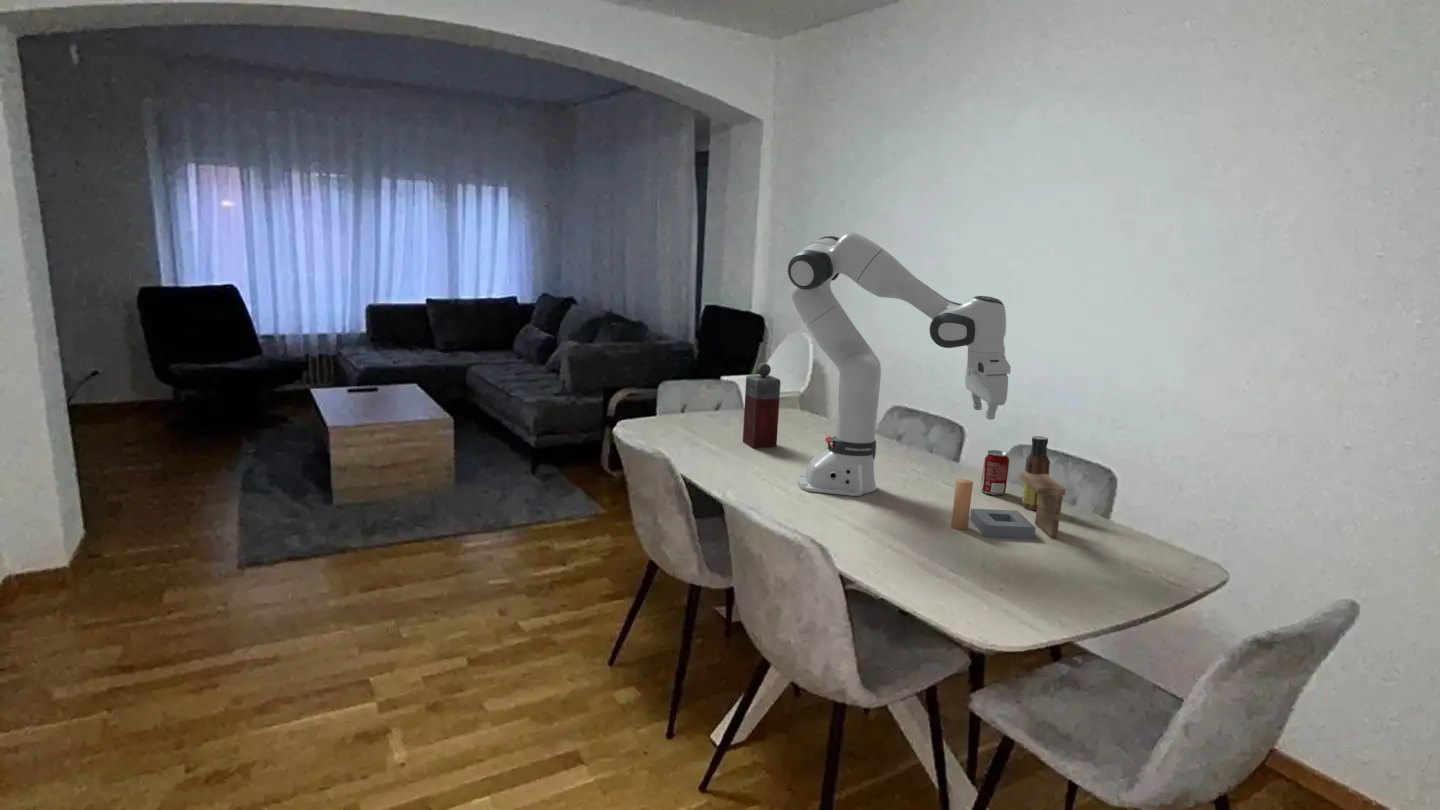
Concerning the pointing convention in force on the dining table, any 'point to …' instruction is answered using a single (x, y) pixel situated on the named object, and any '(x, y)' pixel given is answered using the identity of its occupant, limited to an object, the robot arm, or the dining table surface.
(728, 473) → the dining table surface
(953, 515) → the peg
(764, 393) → the red grey knobbed box
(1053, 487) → the wooden l-shaped bracket
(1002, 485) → the soda can
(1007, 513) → the socket
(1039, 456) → the sauce bottle
